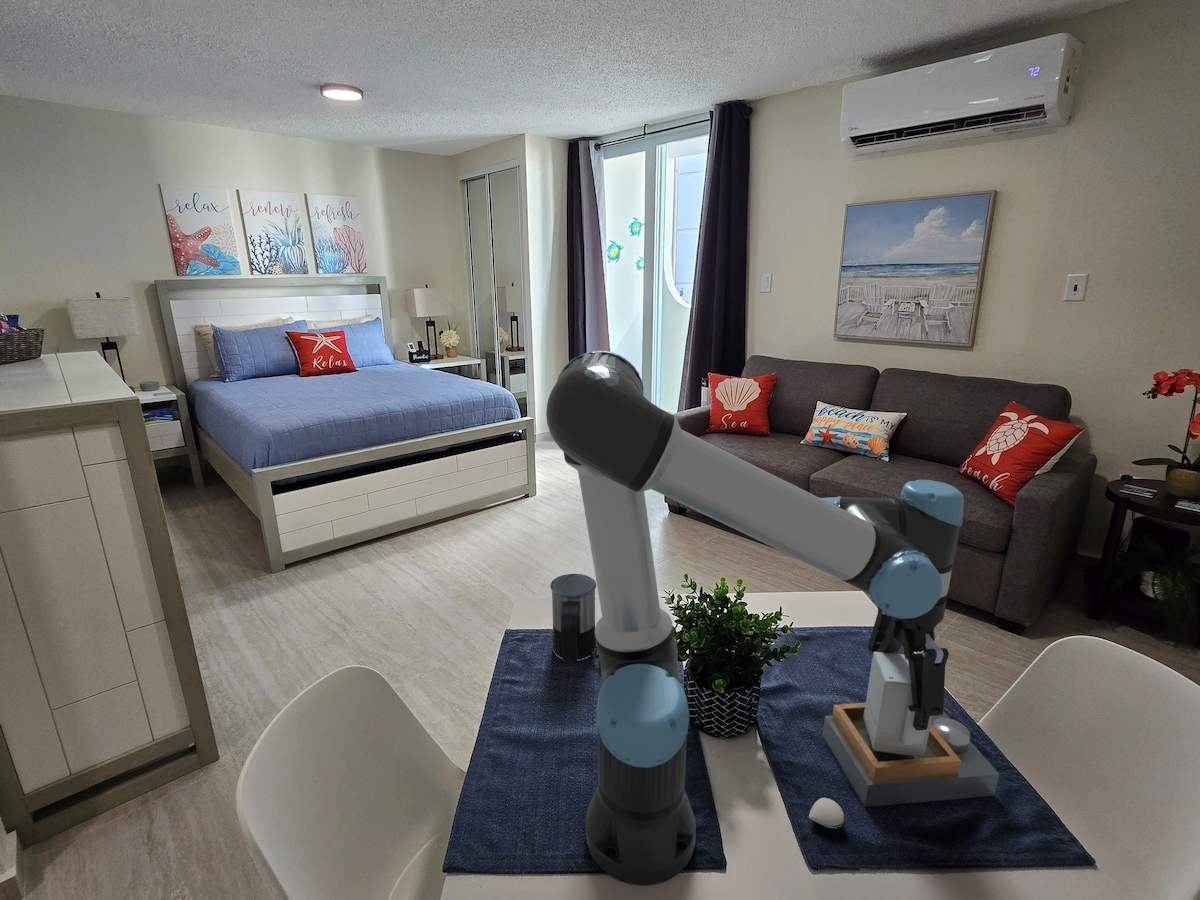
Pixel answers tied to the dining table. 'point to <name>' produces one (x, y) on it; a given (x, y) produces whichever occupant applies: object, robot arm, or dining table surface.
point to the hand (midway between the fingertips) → (895, 720)
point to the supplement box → (890, 705)
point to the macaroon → (827, 813)
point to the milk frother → (573, 617)
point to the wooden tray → (908, 762)
